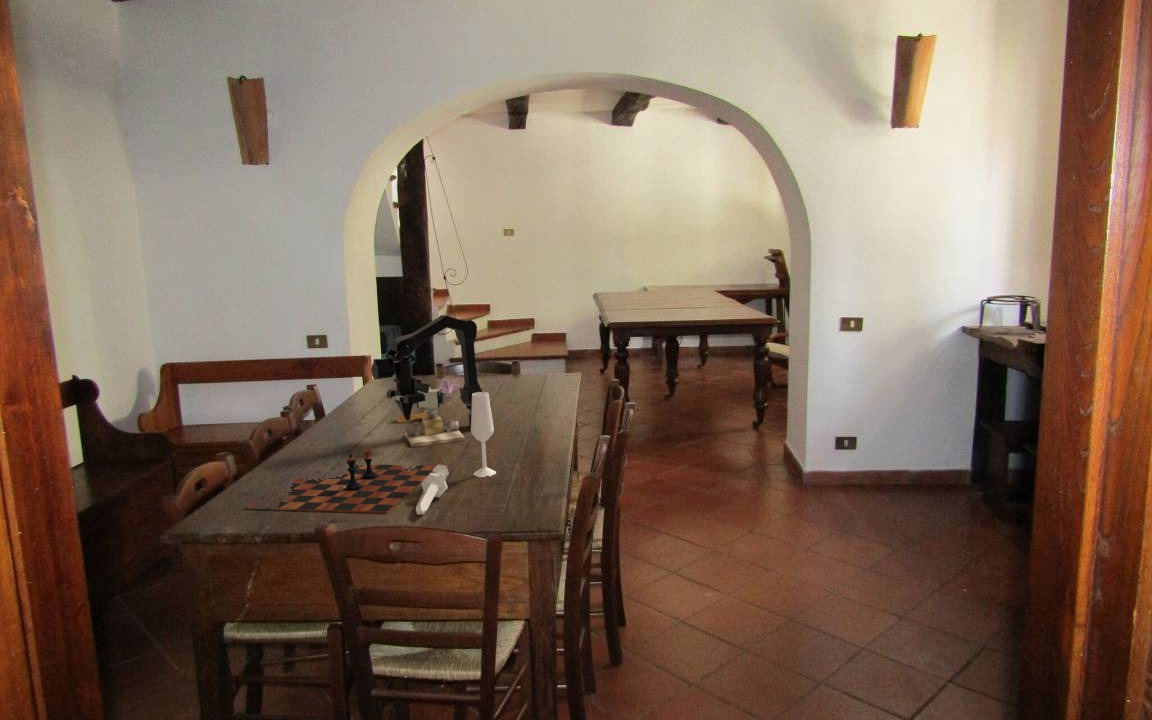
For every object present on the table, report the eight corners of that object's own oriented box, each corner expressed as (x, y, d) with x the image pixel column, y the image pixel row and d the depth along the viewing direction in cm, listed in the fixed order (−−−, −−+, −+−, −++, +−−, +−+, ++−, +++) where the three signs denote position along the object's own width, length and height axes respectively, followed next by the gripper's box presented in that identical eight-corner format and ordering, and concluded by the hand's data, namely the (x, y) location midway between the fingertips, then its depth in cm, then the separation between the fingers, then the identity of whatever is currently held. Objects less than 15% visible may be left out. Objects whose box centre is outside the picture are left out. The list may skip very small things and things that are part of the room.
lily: (465, 398, 334) (457, 378, 336) (465, 393, 323) (456, 373, 324) (440, 409, 332) (431, 389, 333) (438, 404, 320) (430, 384, 322)
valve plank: (455, 429, 277) (454, 411, 276) (464, 440, 262) (463, 421, 261) (405, 435, 271) (404, 417, 270) (411, 447, 256) (410, 427, 255)
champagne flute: (486, 478, 221) (482, 397, 217) (468, 475, 224) (463, 395, 220) (500, 471, 226) (496, 392, 222) (483, 468, 230) (478, 390, 226)
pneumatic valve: (443, 419, 293) (441, 388, 291) (414, 419, 295) (412, 389, 293) (448, 415, 299) (446, 385, 297) (419, 416, 300) (417, 386, 298)
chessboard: (386, 515, 195) (383, 473, 194) (245, 510, 203) (241, 470, 201) (441, 469, 234) (438, 434, 233) (320, 466, 241) (317, 432, 240)
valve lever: (437, 417, 267) (437, 412, 267) (398, 422, 262) (398, 417, 261) (435, 415, 270) (434, 410, 270) (396, 420, 265) (396, 415, 264)
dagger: (435, 515, 189) (461, 464, 216) (416, 499, 188) (445, 450, 215) (416, 534, 191) (444, 482, 218) (397, 519, 191) (428, 468, 217)
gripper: (437, 374, 258) (441, 419, 260) (413, 369, 273) (417, 412, 275) (406, 379, 251) (411, 425, 253) (384, 374, 266) (388, 418, 268)
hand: (407, 420), depth 263 cm, fingers closed
